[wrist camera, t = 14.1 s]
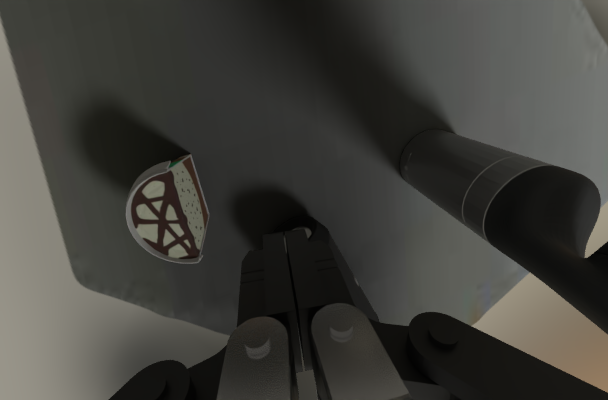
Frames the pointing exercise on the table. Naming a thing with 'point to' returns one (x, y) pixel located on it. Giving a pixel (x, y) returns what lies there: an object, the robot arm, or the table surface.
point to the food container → (169, 211)
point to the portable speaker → (320, 232)
